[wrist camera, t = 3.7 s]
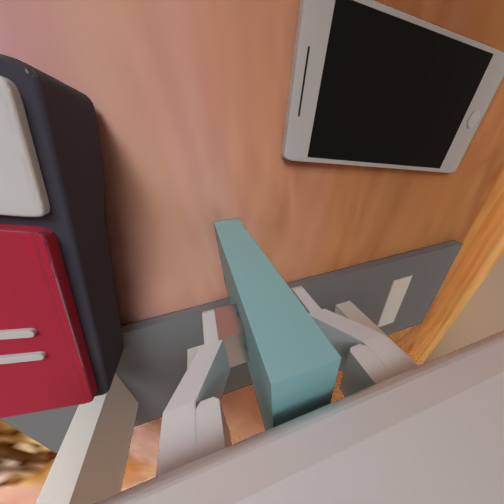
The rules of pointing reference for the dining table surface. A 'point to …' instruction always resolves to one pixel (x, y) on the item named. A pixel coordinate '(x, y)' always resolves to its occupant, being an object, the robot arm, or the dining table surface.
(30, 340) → the calculator
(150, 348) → the domino mat
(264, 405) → the domino
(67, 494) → the domino
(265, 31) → the dining table surface
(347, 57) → the smartphone
